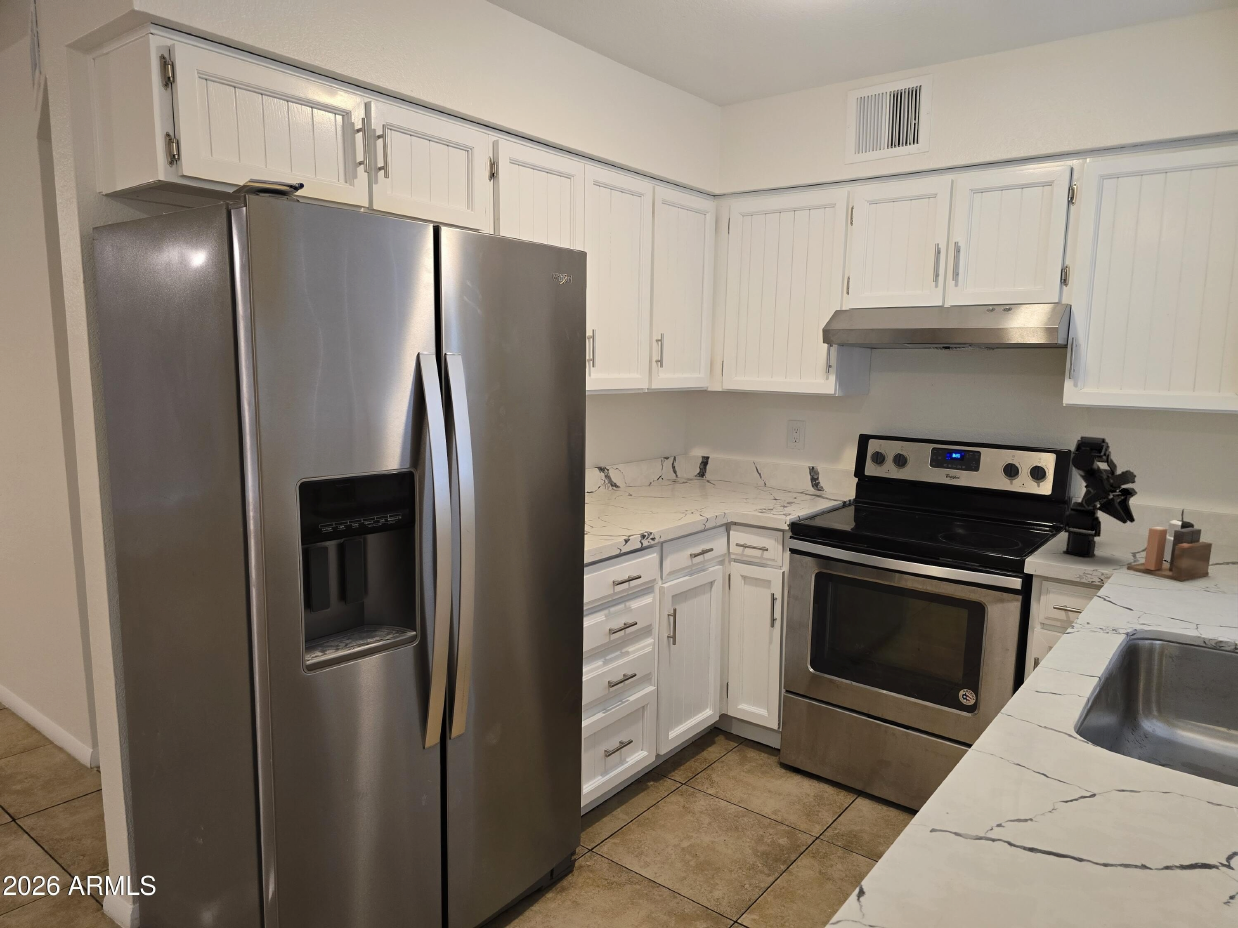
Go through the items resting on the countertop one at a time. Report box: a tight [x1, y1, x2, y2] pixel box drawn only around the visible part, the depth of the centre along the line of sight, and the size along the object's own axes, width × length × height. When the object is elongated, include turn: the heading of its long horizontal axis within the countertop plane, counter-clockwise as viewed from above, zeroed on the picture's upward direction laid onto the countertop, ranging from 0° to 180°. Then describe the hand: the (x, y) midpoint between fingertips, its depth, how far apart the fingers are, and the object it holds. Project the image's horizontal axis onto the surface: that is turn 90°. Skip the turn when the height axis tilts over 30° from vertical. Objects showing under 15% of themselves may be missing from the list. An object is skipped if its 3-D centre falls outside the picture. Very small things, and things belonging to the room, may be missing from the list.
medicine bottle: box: [1163, 519, 1195, 563], centre depth 236 cm, size 7×7×12 cm
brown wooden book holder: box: [1126, 527, 1213, 583], centre depth 221 cm, size 14×16×12 cm
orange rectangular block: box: [1143, 526, 1168, 570], centre depth 219 cm, size 2×5×11 cm, turn 122°
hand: (1129, 522), depth 225 cm, fingers open, 4 cm apart
